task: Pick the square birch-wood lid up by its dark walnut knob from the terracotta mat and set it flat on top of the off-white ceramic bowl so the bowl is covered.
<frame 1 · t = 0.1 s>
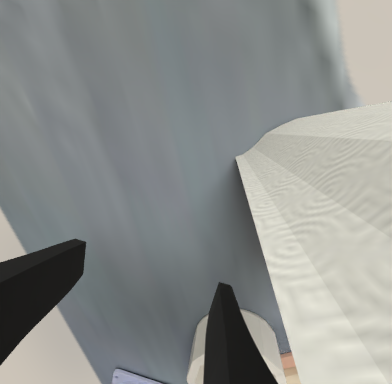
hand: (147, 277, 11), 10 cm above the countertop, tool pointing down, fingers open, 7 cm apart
bowl: (234, 340, 24), on the countertop
paper towel roll: (291, 152, 18), on the countertop
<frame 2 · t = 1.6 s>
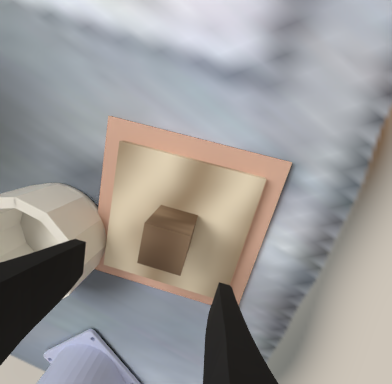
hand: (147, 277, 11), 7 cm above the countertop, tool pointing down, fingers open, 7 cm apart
bowl: (63, 229, 20), on the countertop
lid: (177, 222, 18), resting on mat
mat: (178, 221, 18), on the countertop
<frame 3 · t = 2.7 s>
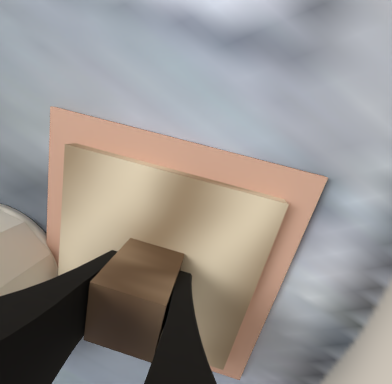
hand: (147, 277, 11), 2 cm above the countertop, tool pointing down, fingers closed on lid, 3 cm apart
bowl: (4, 263, 15), on the countertop
lid: (157, 260, 12), resting on mat, touching gripper
mat: (159, 256, 13), on the countertop
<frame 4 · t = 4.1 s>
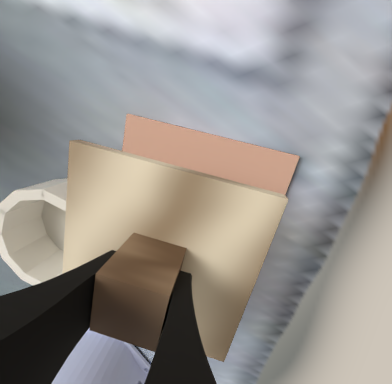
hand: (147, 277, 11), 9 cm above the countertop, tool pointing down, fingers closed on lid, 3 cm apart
bowl: (81, 221, 21), on the countertop
lid: (159, 255, 13), point 7 cm above the countertop, touching gripper
mat: (191, 212, 19), on the countertop
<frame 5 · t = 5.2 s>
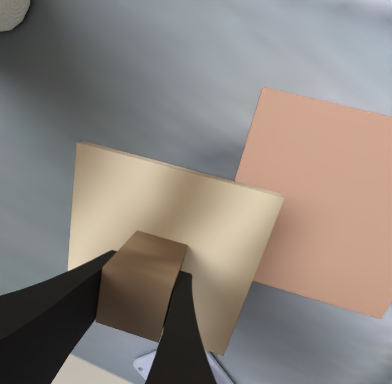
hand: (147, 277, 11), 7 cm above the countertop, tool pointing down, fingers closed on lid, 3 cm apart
lid: (161, 252, 13), point 4 cm above the countertop, touching bowl, gripper
mat: (325, 213, 16), on the countertop
when the fingers open (7 cm above the countertop, at t = 5.5 s): lid stays where it is, resting on bowl.
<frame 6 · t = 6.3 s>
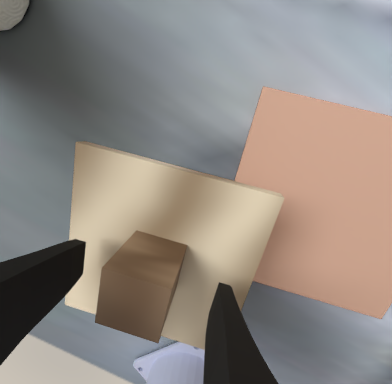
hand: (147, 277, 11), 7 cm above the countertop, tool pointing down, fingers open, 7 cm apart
lid: (161, 252, 13), point 4 cm above the countertop, touching bowl
mat: (326, 212, 16), on the countertop
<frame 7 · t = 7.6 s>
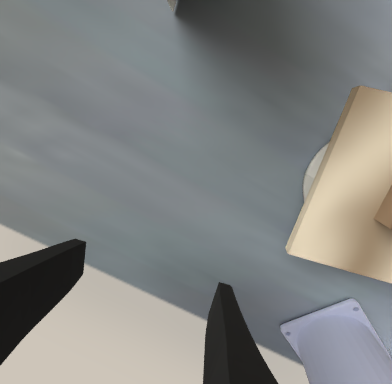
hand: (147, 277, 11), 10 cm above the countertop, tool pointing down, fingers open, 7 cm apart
bowl: (359, 184, 18), on the countertop
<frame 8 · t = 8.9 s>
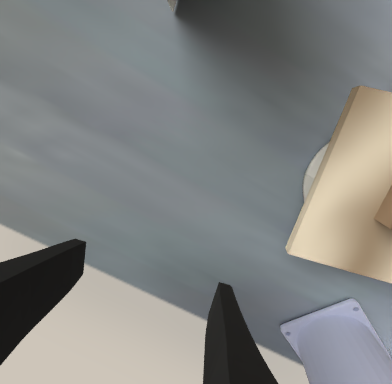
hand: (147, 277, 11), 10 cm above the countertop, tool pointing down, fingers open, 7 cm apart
bowl: (359, 184, 18), on the countertop
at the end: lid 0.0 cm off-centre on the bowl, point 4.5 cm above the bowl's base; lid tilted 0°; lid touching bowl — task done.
